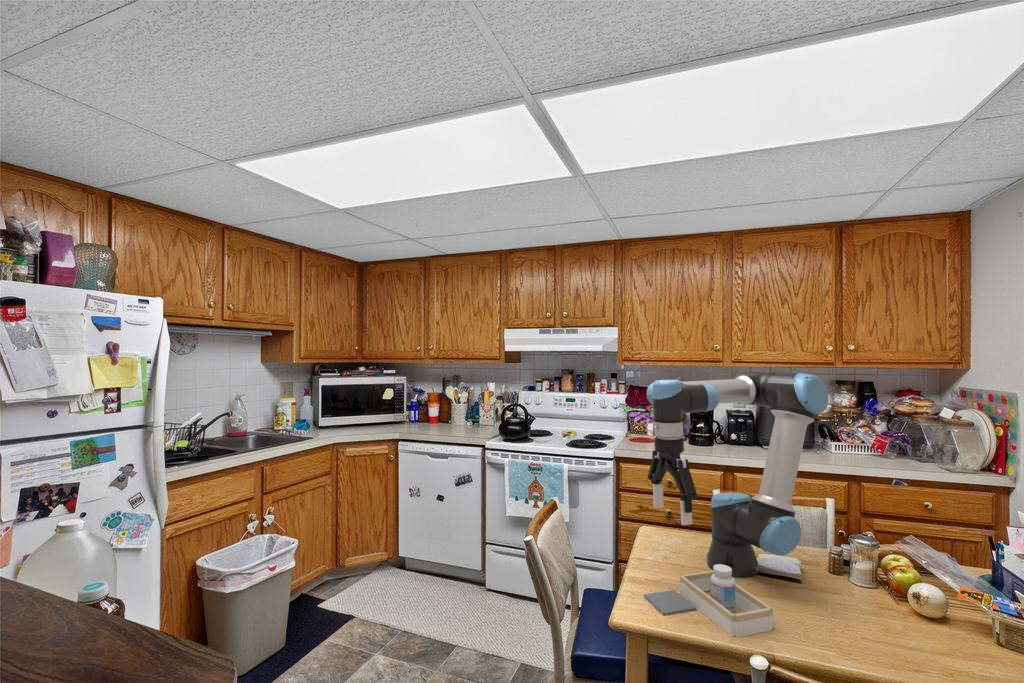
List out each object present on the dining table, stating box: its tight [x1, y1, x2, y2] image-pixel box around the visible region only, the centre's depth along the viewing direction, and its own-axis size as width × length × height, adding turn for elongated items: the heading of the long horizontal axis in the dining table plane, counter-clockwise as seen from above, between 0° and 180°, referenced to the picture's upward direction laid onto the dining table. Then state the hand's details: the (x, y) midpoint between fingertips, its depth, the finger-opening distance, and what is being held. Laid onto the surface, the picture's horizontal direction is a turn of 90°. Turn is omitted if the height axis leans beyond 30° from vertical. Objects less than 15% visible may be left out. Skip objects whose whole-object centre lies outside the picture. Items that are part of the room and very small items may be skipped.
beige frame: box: [679, 570, 774, 638], centre depth 127 cm, size 12×22×5 cm, turn 14°
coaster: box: [643, 589, 697, 616], centre depth 131 cm, size 10×10×1 cm
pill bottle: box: [710, 564, 737, 614], centre depth 127 cm, size 6×6×11 cm
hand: (672, 515), depth 128 cm, fingers open, 13 cm apart
